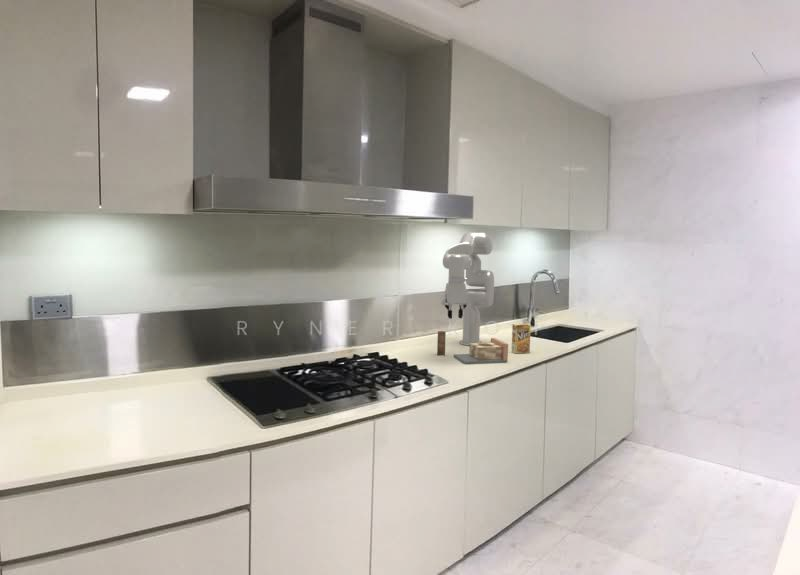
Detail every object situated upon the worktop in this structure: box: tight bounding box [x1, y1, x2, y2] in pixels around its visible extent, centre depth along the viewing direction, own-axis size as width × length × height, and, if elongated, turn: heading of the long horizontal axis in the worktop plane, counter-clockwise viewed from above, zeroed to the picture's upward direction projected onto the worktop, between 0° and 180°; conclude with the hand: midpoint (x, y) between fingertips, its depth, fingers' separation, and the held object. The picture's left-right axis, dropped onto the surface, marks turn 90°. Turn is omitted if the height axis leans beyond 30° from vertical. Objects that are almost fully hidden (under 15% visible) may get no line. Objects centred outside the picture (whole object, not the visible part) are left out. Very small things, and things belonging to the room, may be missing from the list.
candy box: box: [511, 323, 531, 354], centre depth 268 cm, size 9×4×15 cm, turn 107°
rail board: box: [453, 337, 509, 365], centre depth 250 cm, size 16×22×9 cm
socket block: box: [468, 341, 502, 360], centre depth 250 cm, size 12×12×6 cm
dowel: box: [436, 330, 447, 356], centre depth 259 cm, size 4×4×12 cm
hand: (455, 317), depth 244 cm, fingers open, 4 cm apart
